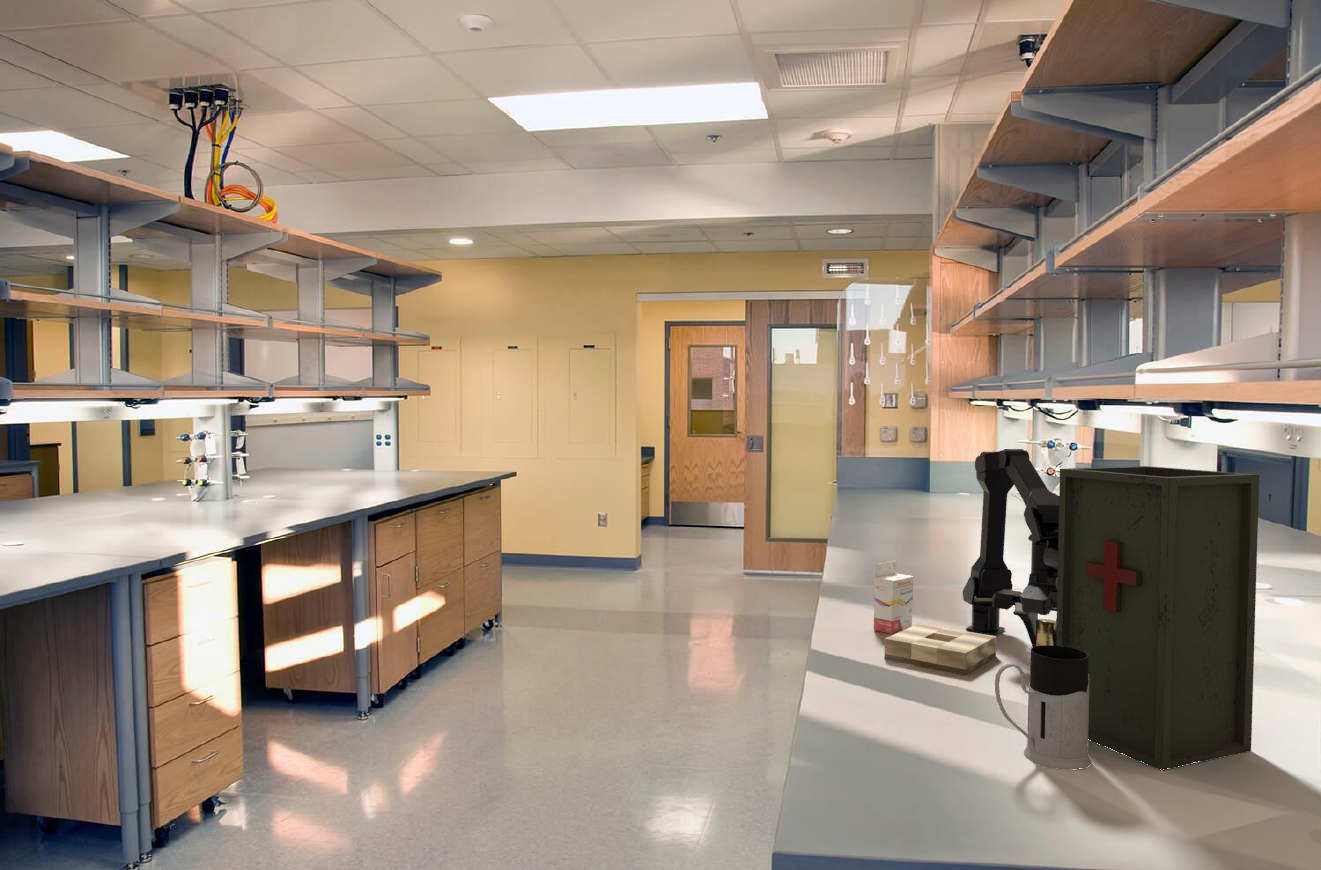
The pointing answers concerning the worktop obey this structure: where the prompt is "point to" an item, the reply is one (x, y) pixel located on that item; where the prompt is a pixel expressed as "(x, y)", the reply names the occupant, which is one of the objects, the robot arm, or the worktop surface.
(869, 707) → the worktop surface
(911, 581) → the ink cartridge box
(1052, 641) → the pin
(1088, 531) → the first aid box
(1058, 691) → the glass holder
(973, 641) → the bore block
